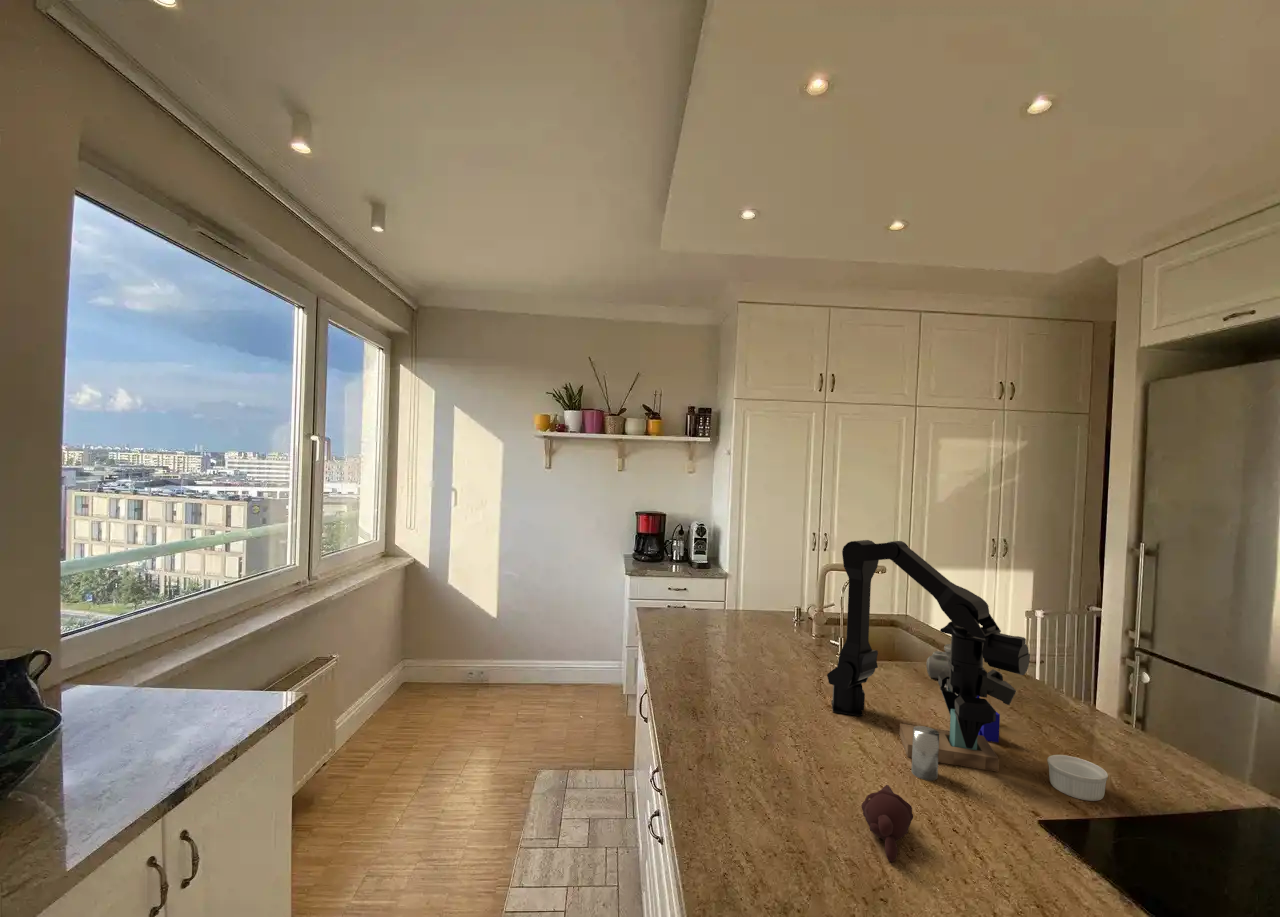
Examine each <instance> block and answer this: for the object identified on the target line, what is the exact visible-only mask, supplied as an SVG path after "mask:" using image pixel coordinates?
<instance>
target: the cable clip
mask: <svg viewBox="0 0 1280 917" xmlns="http://www.w3.org/2000/svg"><path fill="white" fill-rule="evenodd" d="M977 698H980V696H977ZM1000 716H1001V714H1000V713H998V712H997V711H996V721H995V722H992V723H987V724H985V725H983V726H982V727H981V729H980V731H979V734H978V735H982V736H984V737H985V739H986V740H987V742H991V741H992V743H999V742H1000V722H1001V721H1000V720H1001V718H1000Z"/></svg>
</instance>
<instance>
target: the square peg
mask: <svg viewBox="0 0 1280 917" xmlns="http://www.w3.org/2000/svg"><path fill="white" fill-rule="evenodd" d="M949 716H950V720H949V731H950V737H949V743H950V745H951V746H952V747H959V748H965V749H971V748H967V747H966V745H965V742H964V739H963V736H962V733H961V730H960V727H959V724H958V721H957V718H956V715H955V709H951V714H949ZM972 750H977V739H976V741H975V744H974V746H973V748H972Z"/></svg>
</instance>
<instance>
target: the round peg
mask: <svg viewBox="0 0 1280 917" xmlns="http://www.w3.org/2000/svg"><path fill="white" fill-rule="evenodd" d="M914 726H915V727H914V728H913V746H912V758H911V769H910V770H911V774H912V775H913V776H915V777H916V778H919V779H921V780H925V781H929V782H930V781H936V780H937V779H938V773H939V762H938V755H939V732H938V731H936V730H934V729H935V728H934V729H932V728H933V727H928V726H923V725H914Z"/></svg>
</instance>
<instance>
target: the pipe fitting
mask: <svg viewBox="0 0 1280 917" xmlns="http://www.w3.org/2000/svg"><path fill="white" fill-rule="evenodd" d="M943 647H944V648H943V649H944V651H938V650H936V651H933V653H932V655H929V656H928V657H927V659H926V672H927V674H928V676H929V677H930V678H931V679H936V680H937V679H938V677H939V674H940V673H942V672H943V671H945V672H950V666H949V665H948V659H950V657H951V643H948V644H945V645H944V646H943Z"/></svg>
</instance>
